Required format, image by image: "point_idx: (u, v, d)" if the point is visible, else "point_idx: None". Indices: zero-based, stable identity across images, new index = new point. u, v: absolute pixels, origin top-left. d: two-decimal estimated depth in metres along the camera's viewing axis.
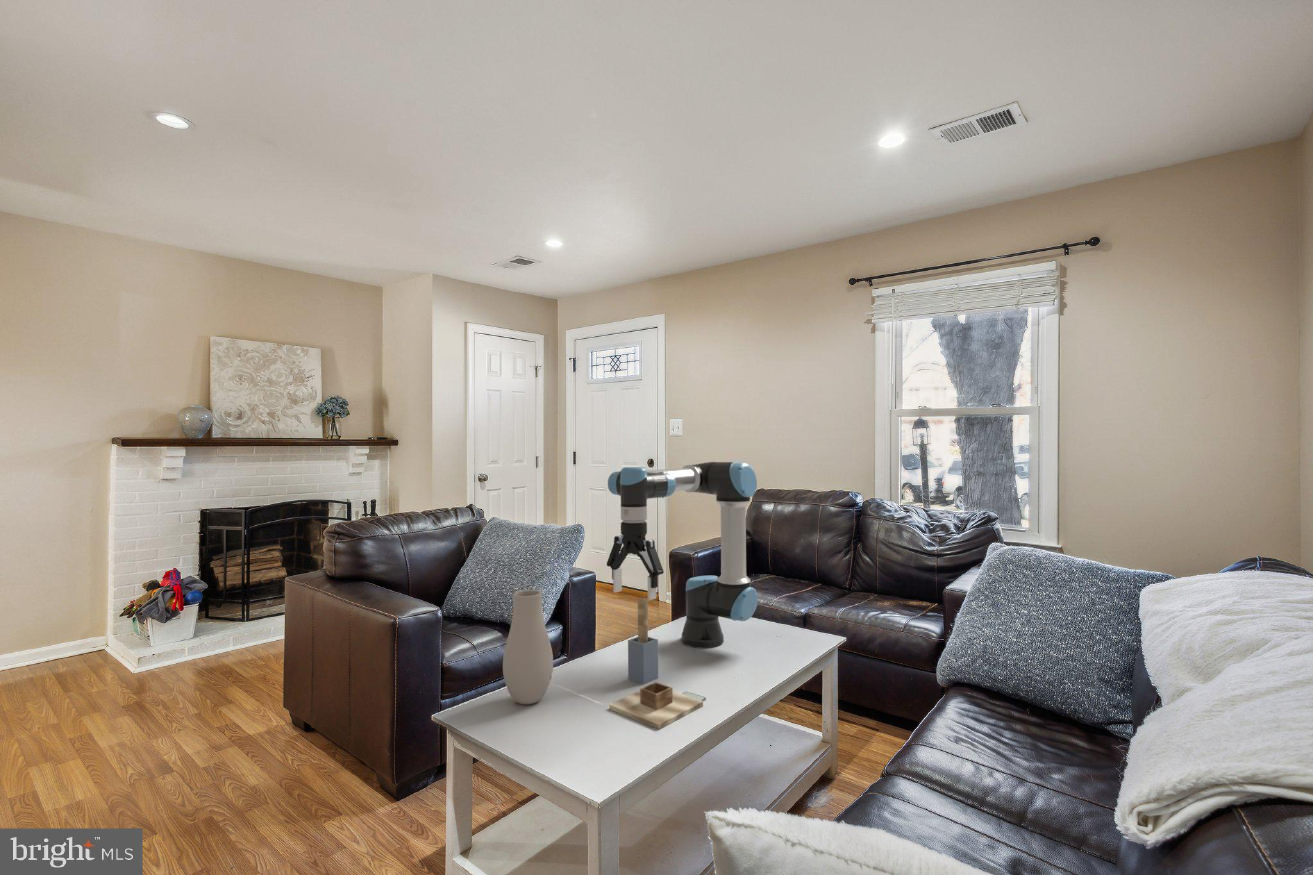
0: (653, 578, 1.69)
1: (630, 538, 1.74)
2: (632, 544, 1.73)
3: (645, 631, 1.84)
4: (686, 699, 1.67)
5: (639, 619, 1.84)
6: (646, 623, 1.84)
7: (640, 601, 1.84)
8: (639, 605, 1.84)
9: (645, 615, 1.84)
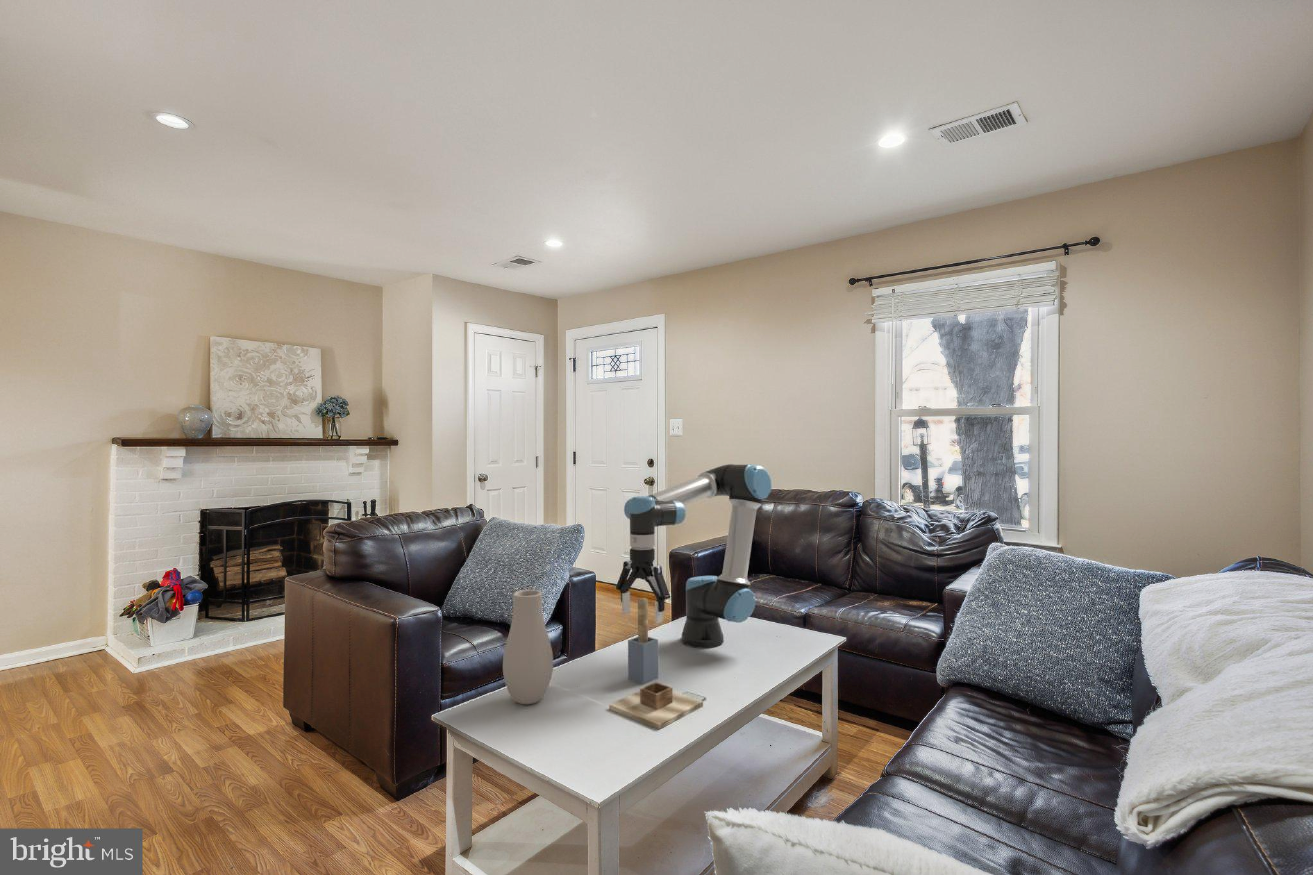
0: (660, 602, 1.79)
1: (638, 564, 1.84)
2: (640, 570, 1.83)
3: (645, 631, 1.84)
4: (686, 699, 1.67)
5: (639, 619, 1.84)
6: (646, 623, 1.84)
7: (640, 601, 1.84)
8: (639, 605, 1.84)
9: (645, 615, 1.84)
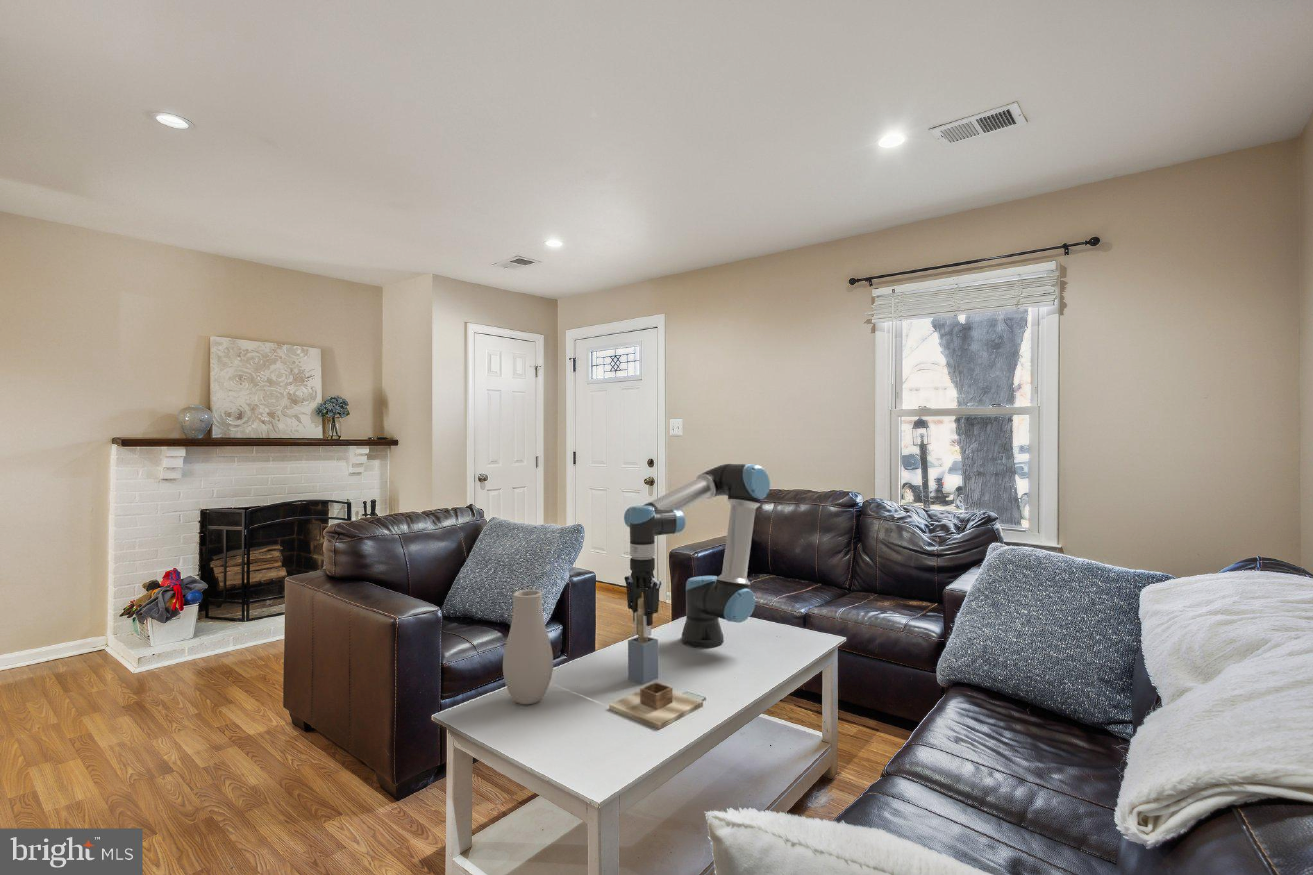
0: (648, 617, 1.82)
1: (639, 573, 1.84)
2: (641, 579, 1.83)
3: None
4: (686, 699, 1.67)
5: (639, 619, 1.84)
6: None
7: (640, 601, 1.84)
8: (639, 605, 1.84)
9: None
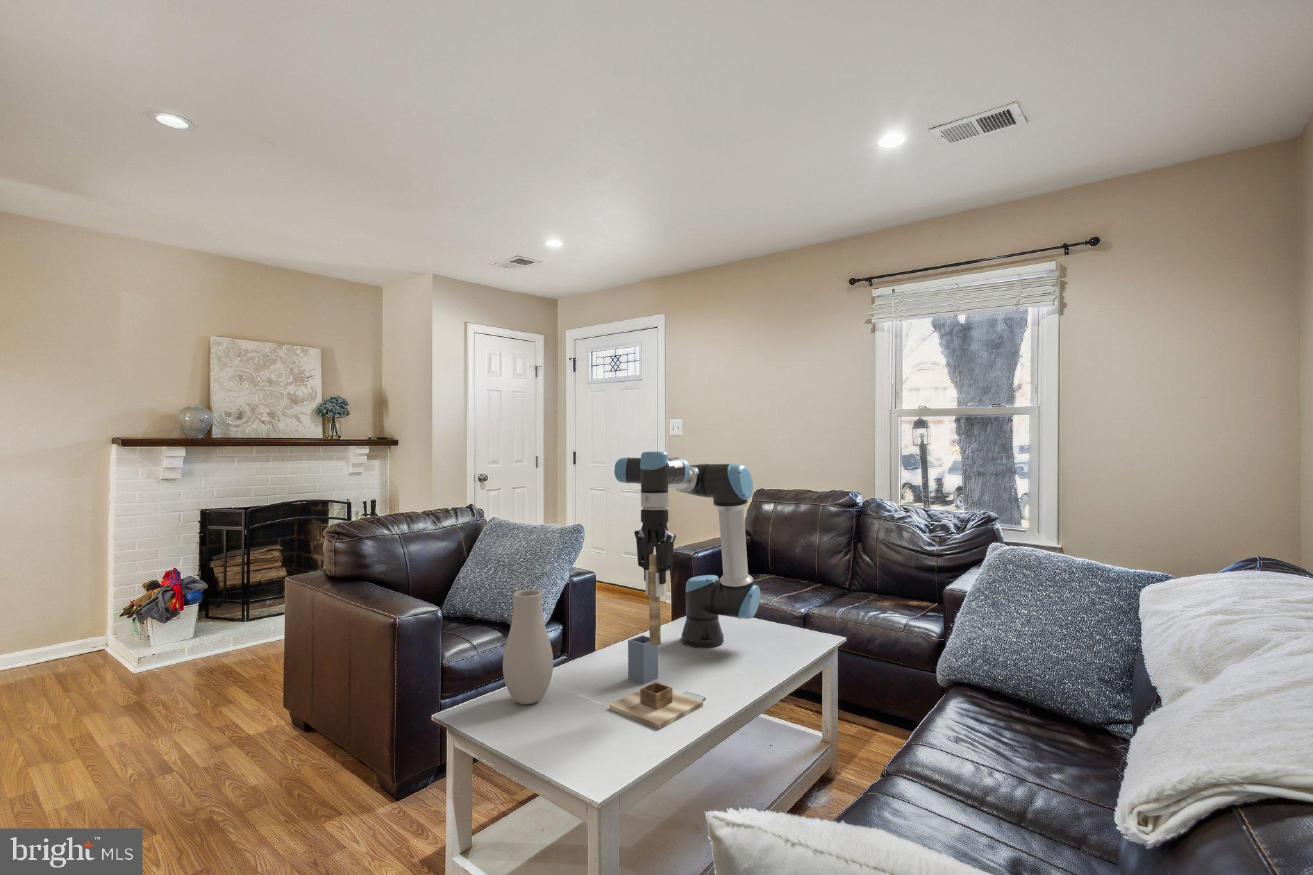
0: (661, 574, 1.63)
1: (651, 526, 1.65)
2: (653, 532, 1.63)
3: None
4: (686, 699, 1.67)
5: (651, 577, 1.64)
6: None
7: (652, 557, 1.64)
8: (651, 561, 1.65)
9: None
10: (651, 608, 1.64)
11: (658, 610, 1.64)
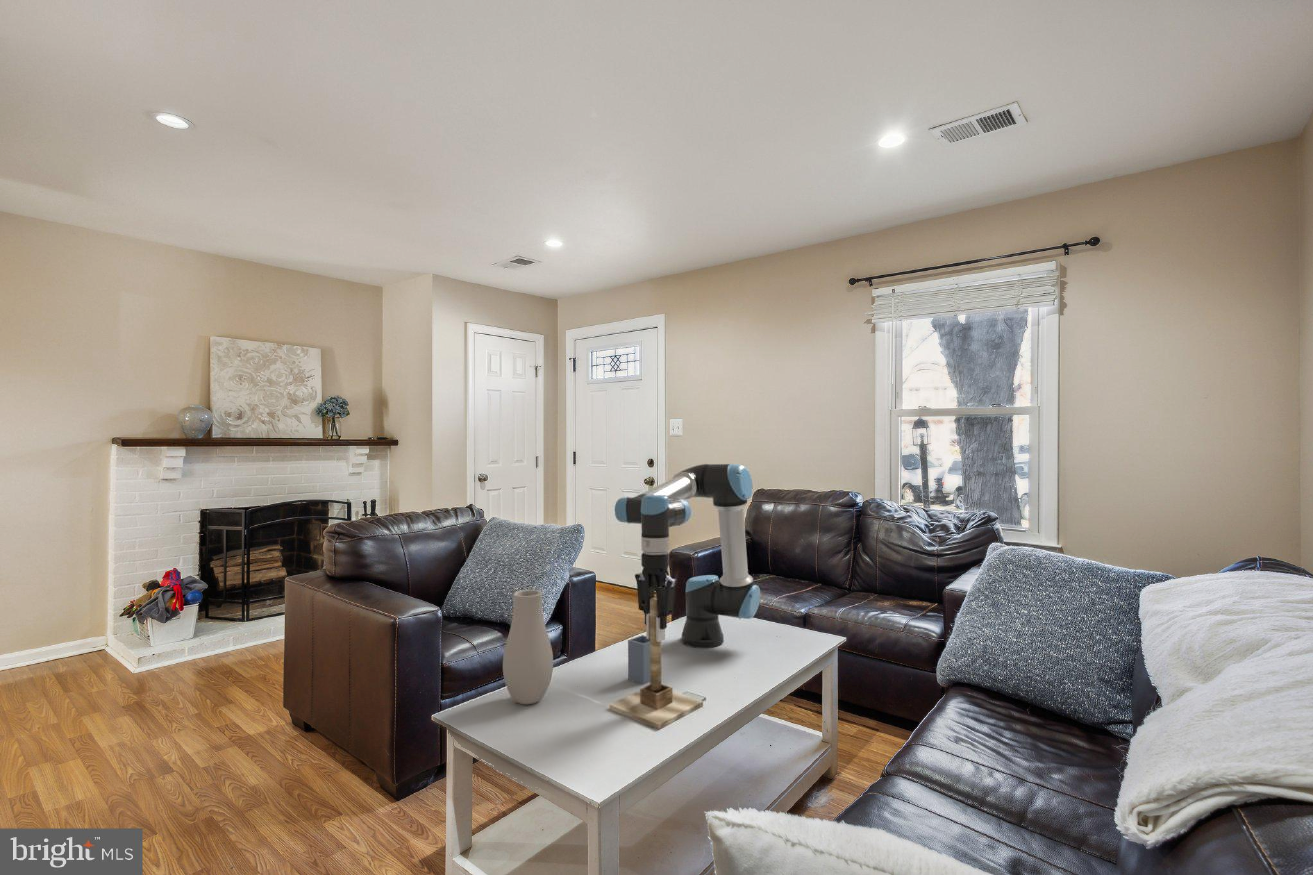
0: (662, 619, 1.63)
1: (651, 570, 1.65)
2: (654, 577, 1.63)
3: None
4: (686, 699, 1.67)
5: (651, 621, 1.64)
6: None
7: (653, 601, 1.64)
8: (651, 606, 1.64)
9: None
10: (652, 653, 1.64)
11: (659, 655, 1.64)
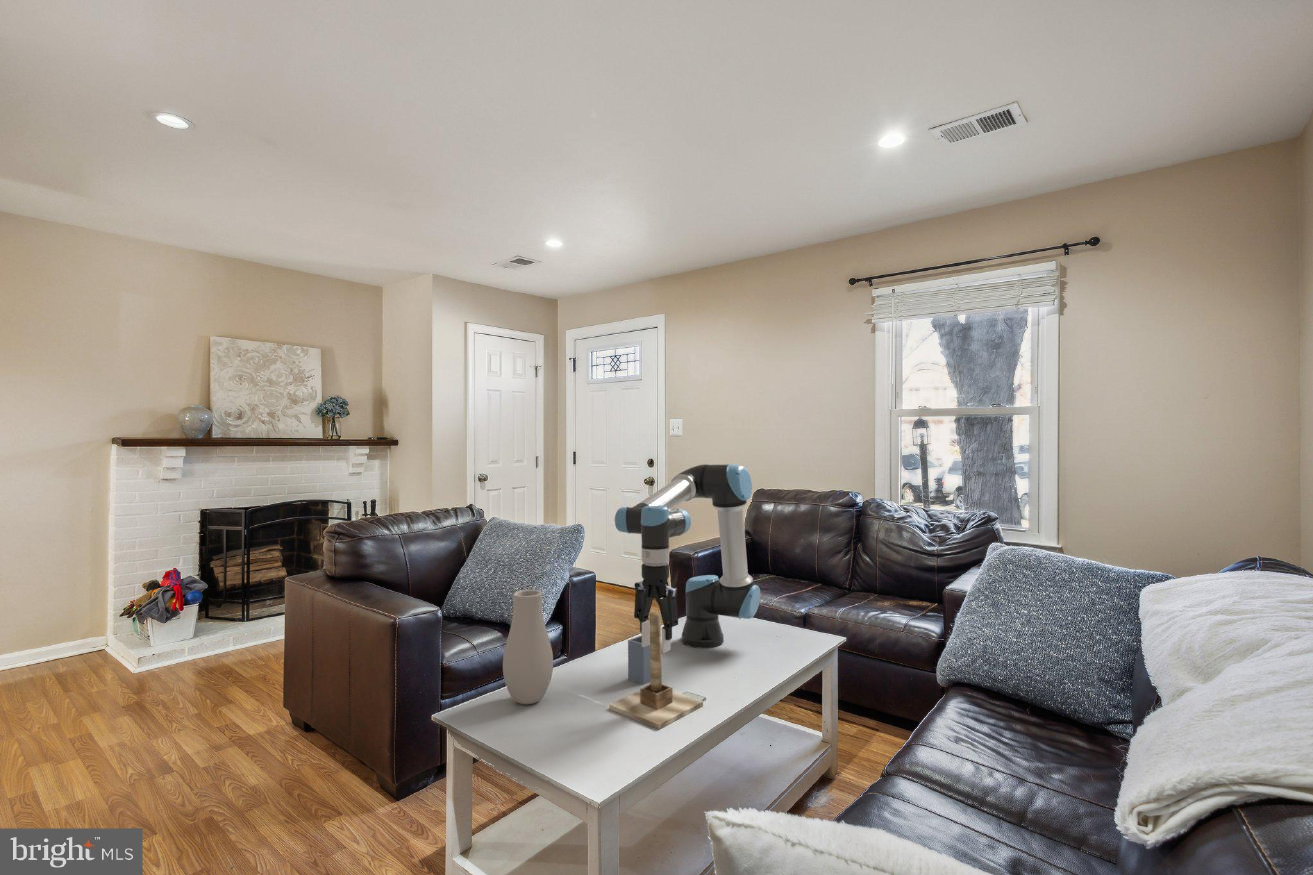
0: (667, 630, 1.62)
1: (651, 581, 1.65)
2: (654, 588, 1.63)
3: (658, 650, 1.64)
4: (686, 699, 1.67)
5: (651, 636, 1.64)
6: (659, 641, 1.65)
7: (652, 616, 1.64)
8: (651, 621, 1.64)
9: (658, 632, 1.64)
10: (652, 668, 1.64)
11: (659, 670, 1.64)
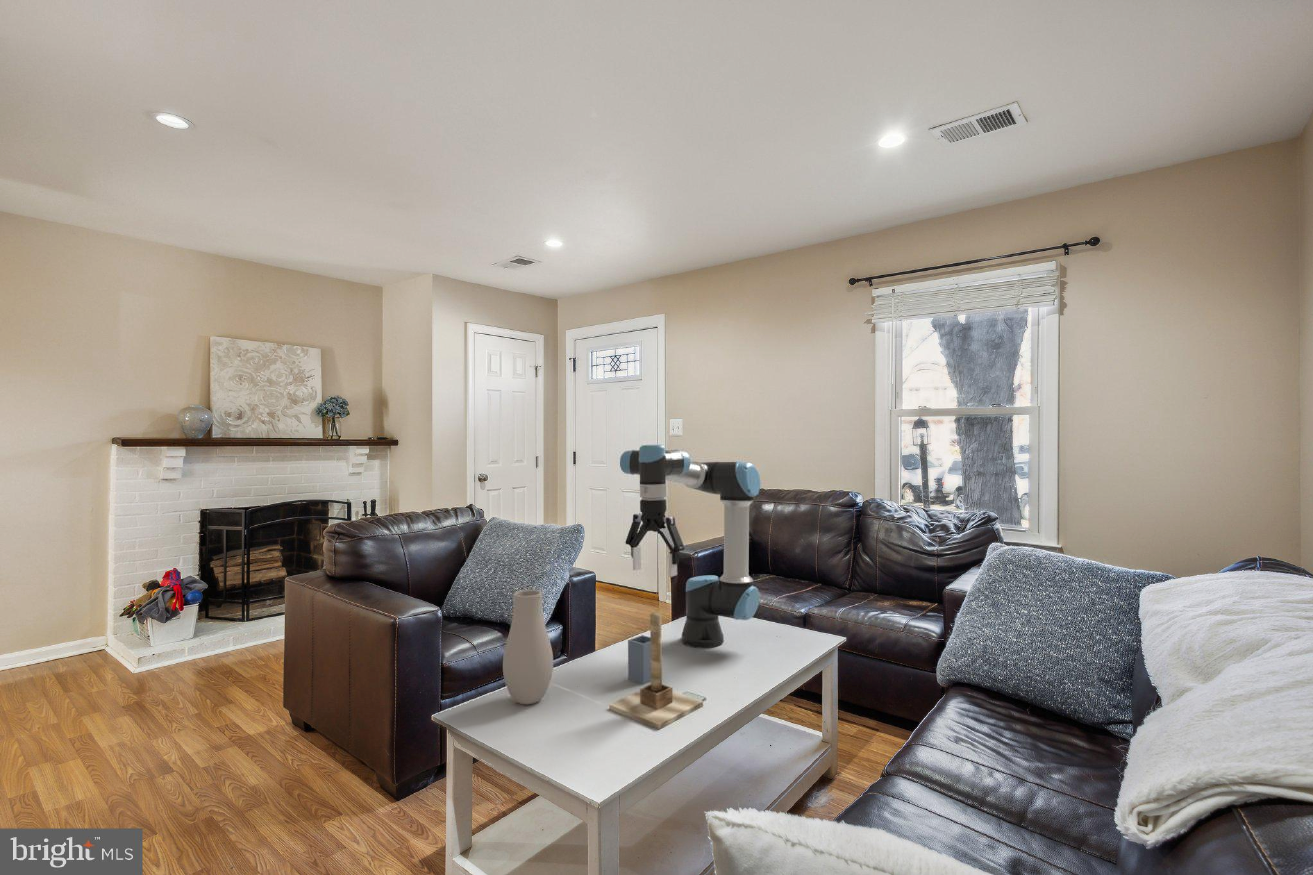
0: (674, 554, 1.69)
1: (650, 515, 1.74)
2: (652, 521, 1.73)
3: (659, 650, 1.64)
4: (686, 699, 1.67)
5: (652, 637, 1.64)
6: (660, 641, 1.64)
7: (653, 617, 1.64)
8: (652, 621, 1.64)
9: (659, 632, 1.64)
10: (652, 668, 1.64)
11: (659, 670, 1.64)
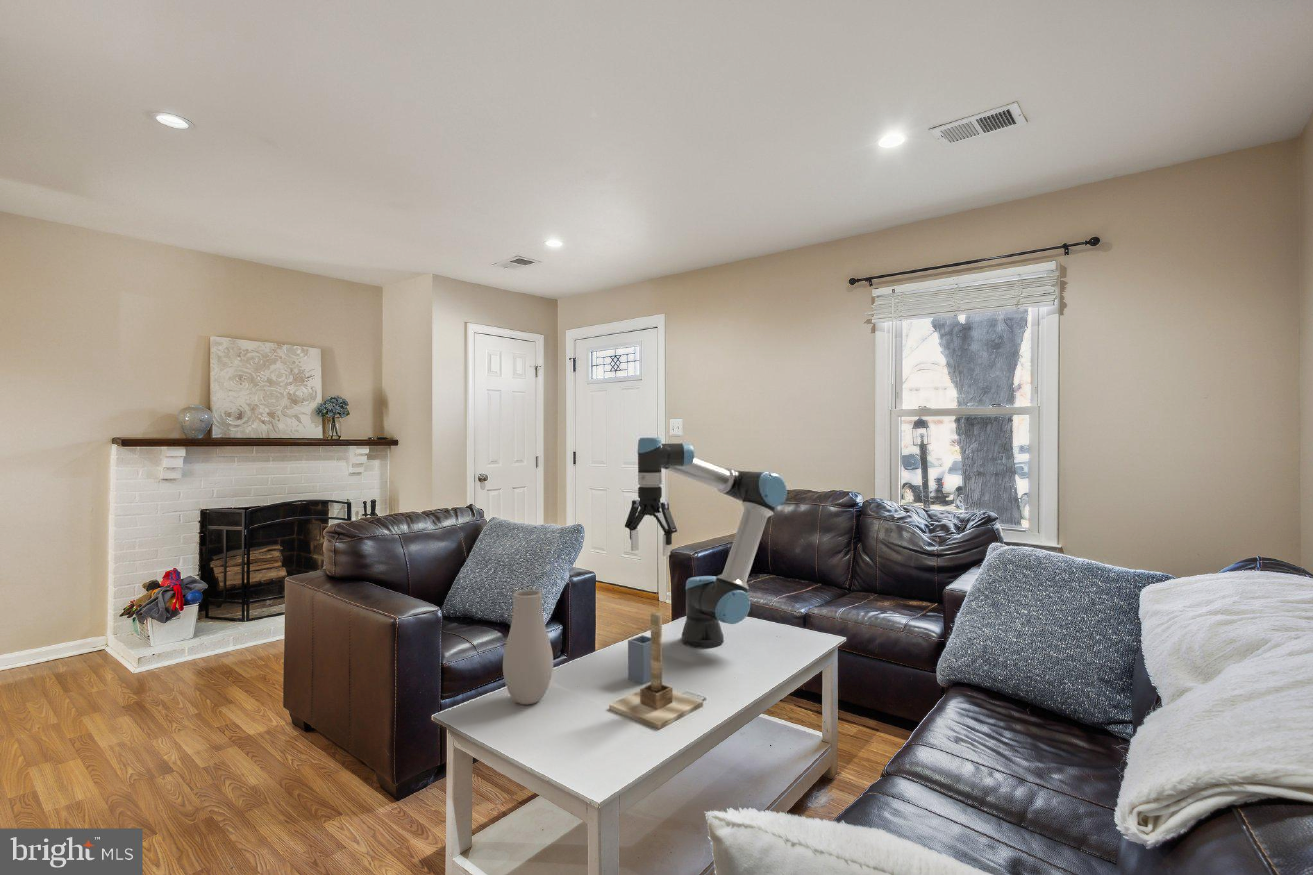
0: (668, 536, 1.88)
1: (646, 501, 1.93)
2: (648, 506, 1.92)
3: (659, 650, 1.64)
4: (686, 699, 1.67)
5: (652, 637, 1.64)
6: (660, 641, 1.64)
7: (653, 616, 1.64)
8: (652, 621, 1.64)
9: (659, 632, 1.64)
10: (652, 668, 1.64)
11: (659, 670, 1.64)
